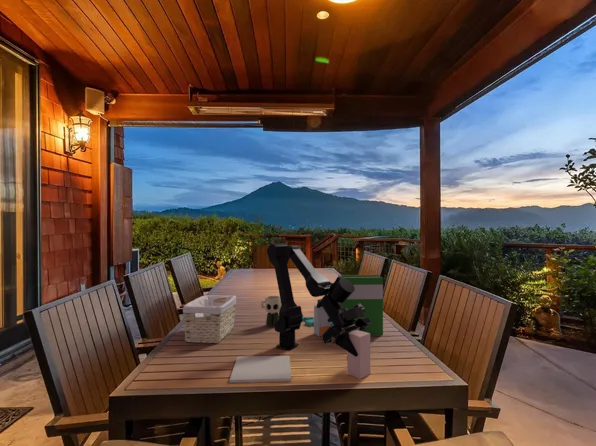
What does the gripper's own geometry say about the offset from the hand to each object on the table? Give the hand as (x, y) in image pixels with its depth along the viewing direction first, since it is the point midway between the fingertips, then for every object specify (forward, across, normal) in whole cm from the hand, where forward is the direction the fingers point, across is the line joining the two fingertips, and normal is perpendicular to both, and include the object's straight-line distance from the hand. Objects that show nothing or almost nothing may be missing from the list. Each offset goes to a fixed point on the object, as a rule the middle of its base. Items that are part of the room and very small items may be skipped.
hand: (362, 353), depth 108 cm
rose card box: (+4, 0, +6) cm, 7 cm away
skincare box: (-21, +20, +30) cm, 42 cm away
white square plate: (-13, -20, +22) cm, 32 cm away
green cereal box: (-14, +34, +24) cm, 44 cm away
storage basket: (-43, -14, +53) cm, 69 cm away
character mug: (-38, +13, +47) cm, 62 cm away
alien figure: (-30, +35, +41) cm, 62 cm away
